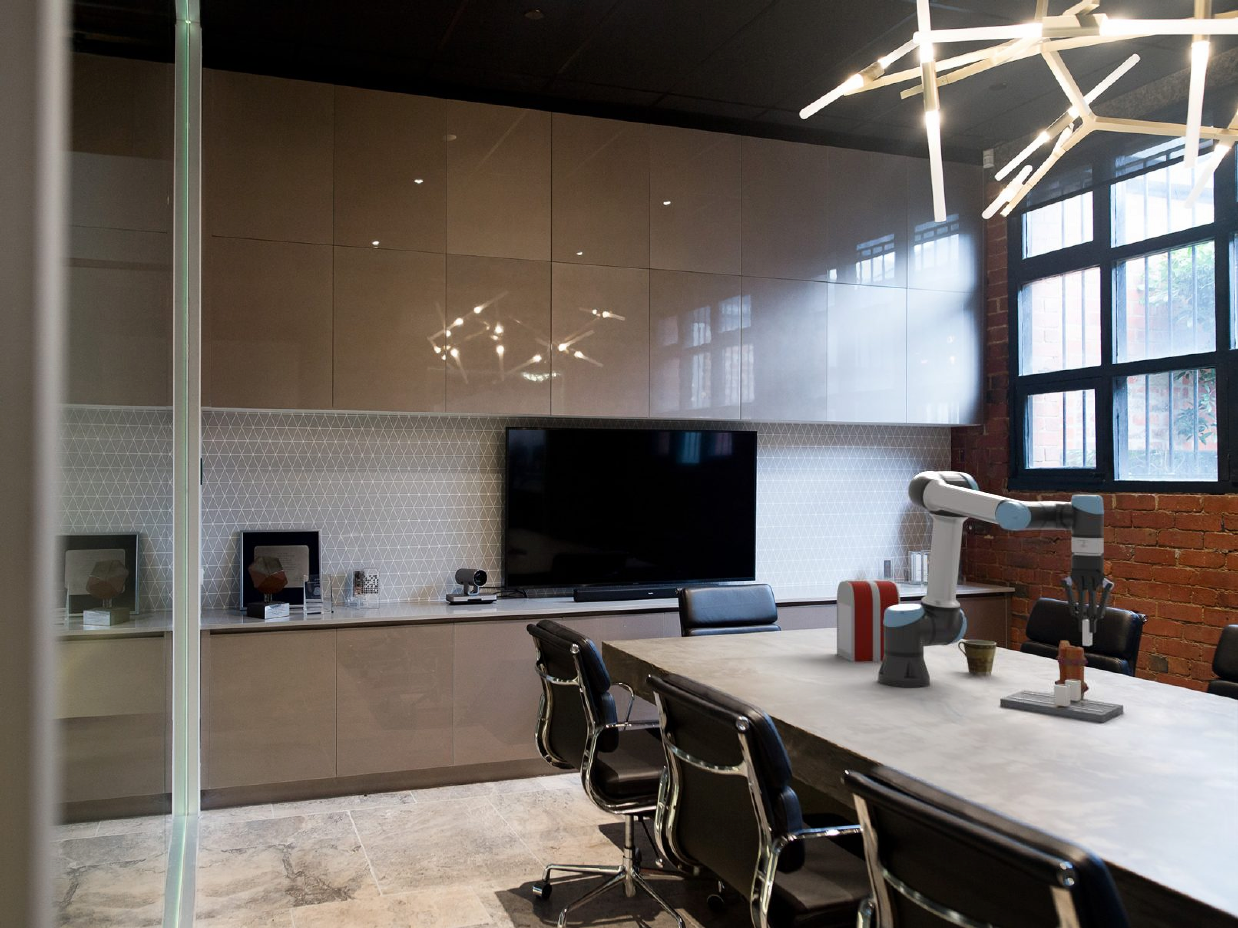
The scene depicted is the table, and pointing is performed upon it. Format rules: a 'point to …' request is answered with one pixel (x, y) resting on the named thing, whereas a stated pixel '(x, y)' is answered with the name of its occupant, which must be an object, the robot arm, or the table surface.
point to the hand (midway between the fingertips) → (1087, 644)
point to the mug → (1071, 664)
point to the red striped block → (863, 618)
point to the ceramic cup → (979, 656)
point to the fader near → (1061, 695)
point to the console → (1075, 710)
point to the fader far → (1074, 689)
